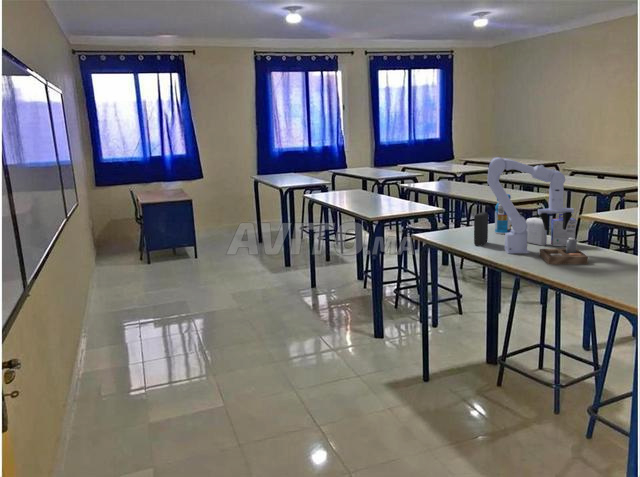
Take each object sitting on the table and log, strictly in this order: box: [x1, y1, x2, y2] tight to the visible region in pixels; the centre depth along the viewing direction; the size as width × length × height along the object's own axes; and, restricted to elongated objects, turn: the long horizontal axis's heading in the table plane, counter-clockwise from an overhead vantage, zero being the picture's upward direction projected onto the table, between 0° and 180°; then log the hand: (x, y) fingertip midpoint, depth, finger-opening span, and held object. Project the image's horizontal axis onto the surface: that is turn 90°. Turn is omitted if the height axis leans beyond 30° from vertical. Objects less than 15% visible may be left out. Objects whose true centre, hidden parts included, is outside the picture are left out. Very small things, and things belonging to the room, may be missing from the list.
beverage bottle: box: [494, 193, 512, 235], centre depth 273 cm, size 8×8×20 cm
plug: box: [565, 237, 578, 254], centre depth 221 cm, size 4×4×9 cm
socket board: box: [539, 247, 589, 265], centre depth 221 cm, size 15×14×3 cm
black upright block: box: [473, 211, 489, 246], centre depth 253 cm, size 9×4×15 cm, turn 141°
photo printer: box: [525, 217, 548, 247], centre depth 248 cm, size 10×4×12 cm, turn 31°
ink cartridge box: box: [550, 213, 577, 247], centre depth 242 cm, size 10×6×14 cm, turn 78°
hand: (555, 229), depth 231 cm, fingers open, 7 cm apart
